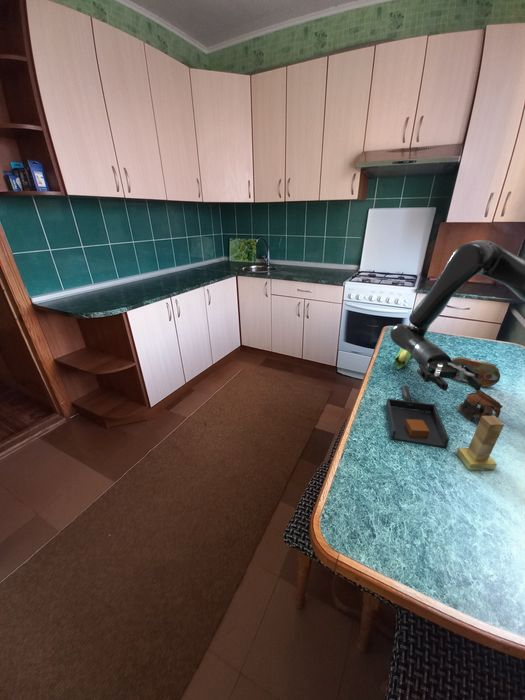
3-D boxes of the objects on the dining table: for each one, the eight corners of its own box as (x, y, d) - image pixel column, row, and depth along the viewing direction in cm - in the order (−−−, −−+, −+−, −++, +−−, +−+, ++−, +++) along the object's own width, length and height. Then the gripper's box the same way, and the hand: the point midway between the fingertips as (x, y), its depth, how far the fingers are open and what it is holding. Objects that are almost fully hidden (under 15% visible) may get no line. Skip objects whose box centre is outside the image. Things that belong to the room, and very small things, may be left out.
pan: (446, 448, 75) (449, 439, 73) (391, 439, 78) (393, 430, 76) (424, 393, 96) (426, 385, 94) (382, 388, 99) (383, 380, 97)
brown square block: (420, 426, 81) (422, 419, 80) (427, 437, 77) (429, 431, 76) (404, 425, 81) (406, 419, 80) (410, 437, 77) (412, 430, 76)
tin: (443, 377, 104) (450, 356, 100) (444, 373, 107) (451, 353, 103) (495, 390, 97) (504, 368, 93) (495, 386, 99) (503, 364, 95)
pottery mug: (451, 403, 92) (470, 383, 89) (478, 421, 90) (499, 401, 87) (463, 419, 80) (485, 396, 78) (495, 439, 79) (519, 417, 76)
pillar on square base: (479, 453, 73) (498, 412, 67) (494, 469, 68) (514, 427, 63) (456, 453, 73) (472, 412, 67) (468, 470, 68) (487, 427, 63)
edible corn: (415, 351, 122) (418, 342, 120) (404, 372, 108) (407, 361, 106) (402, 348, 125) (404, 339, 123) (390, 368, 110) (392, 357, 108)
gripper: (409, 346, 87) (439, 375, 73) (457, 346, 87) (496, 375, 72) (404, 368, 90) (431, 400, 76) (450, 367, 90) (485, 399, 76)
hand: (463, 387), depth 74 cm, fingers open, 8 cm apart
